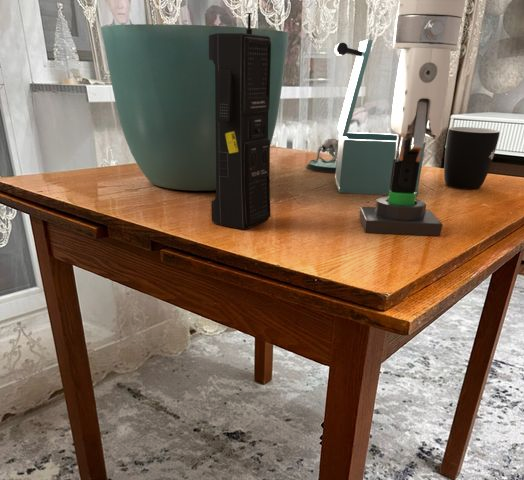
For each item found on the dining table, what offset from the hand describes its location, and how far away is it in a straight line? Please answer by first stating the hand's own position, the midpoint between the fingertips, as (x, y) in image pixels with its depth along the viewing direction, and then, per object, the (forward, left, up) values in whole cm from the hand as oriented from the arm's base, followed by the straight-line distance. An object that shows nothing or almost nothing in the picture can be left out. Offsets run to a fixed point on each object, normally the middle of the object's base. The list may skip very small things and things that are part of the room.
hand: (401, 191), depth 73 cm
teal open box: (0, -27, -5) cm, 28 cm away
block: (0, 0, -5) cm, 5 cm away
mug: (-18, -34, -5) cm, 39 cm away
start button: (0, 0, -2) cm, 2 cm away
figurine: (+7, -46, -5) cm, 47 cm away
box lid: (+5, -27, +11) cm, 30 cm away
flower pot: (+32, -25, -5) cm, 41 cm away
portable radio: (+22, +2, -5) cm, 22 cm away
